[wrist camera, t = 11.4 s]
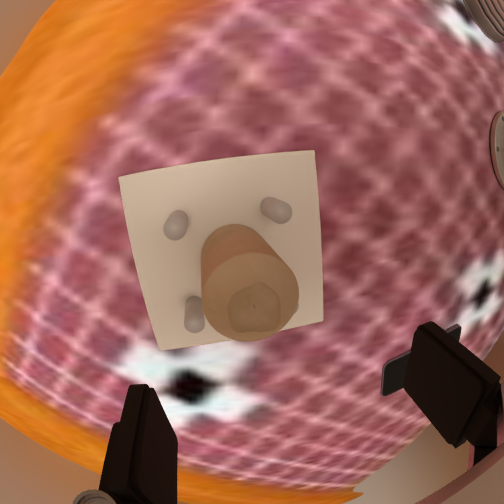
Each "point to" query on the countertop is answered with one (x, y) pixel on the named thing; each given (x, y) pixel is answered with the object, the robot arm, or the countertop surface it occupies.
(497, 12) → the can
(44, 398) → the countertop surface
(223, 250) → the candle
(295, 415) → the countertop surface
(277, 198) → the plate
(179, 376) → the countertop surface
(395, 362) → the smartphone
